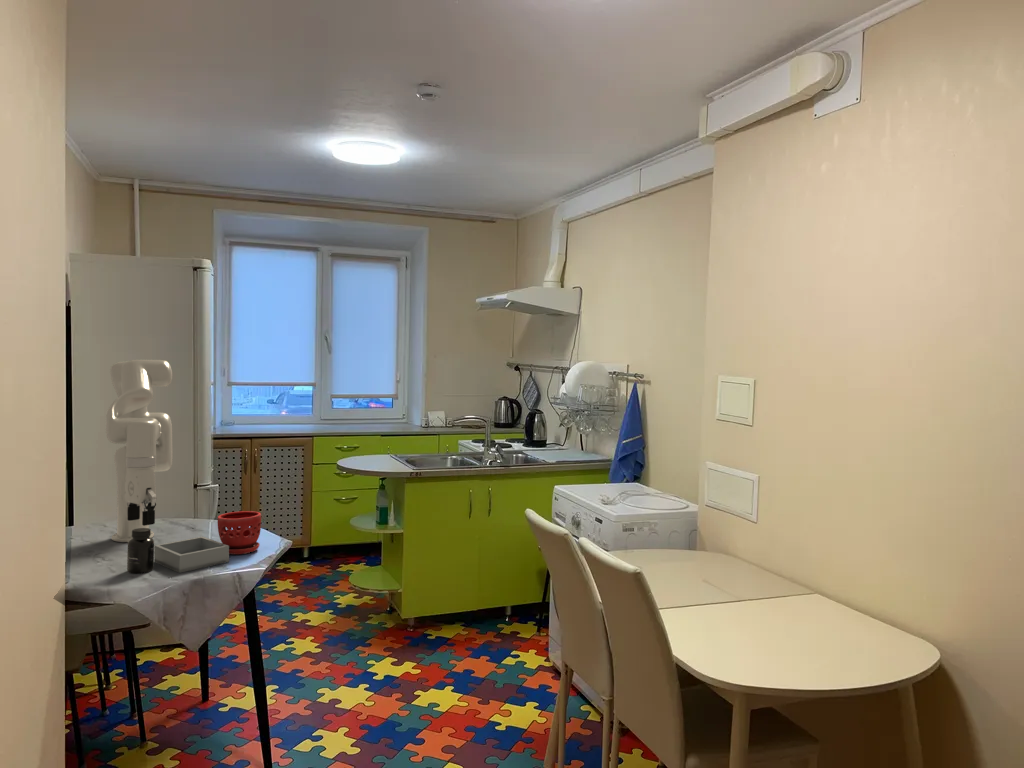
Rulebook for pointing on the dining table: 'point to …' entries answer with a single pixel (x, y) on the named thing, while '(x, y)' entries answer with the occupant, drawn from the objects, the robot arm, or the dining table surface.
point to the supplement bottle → (140, 552)
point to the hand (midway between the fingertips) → (141, 522)
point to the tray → (191, 554)
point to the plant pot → (240, 531)
